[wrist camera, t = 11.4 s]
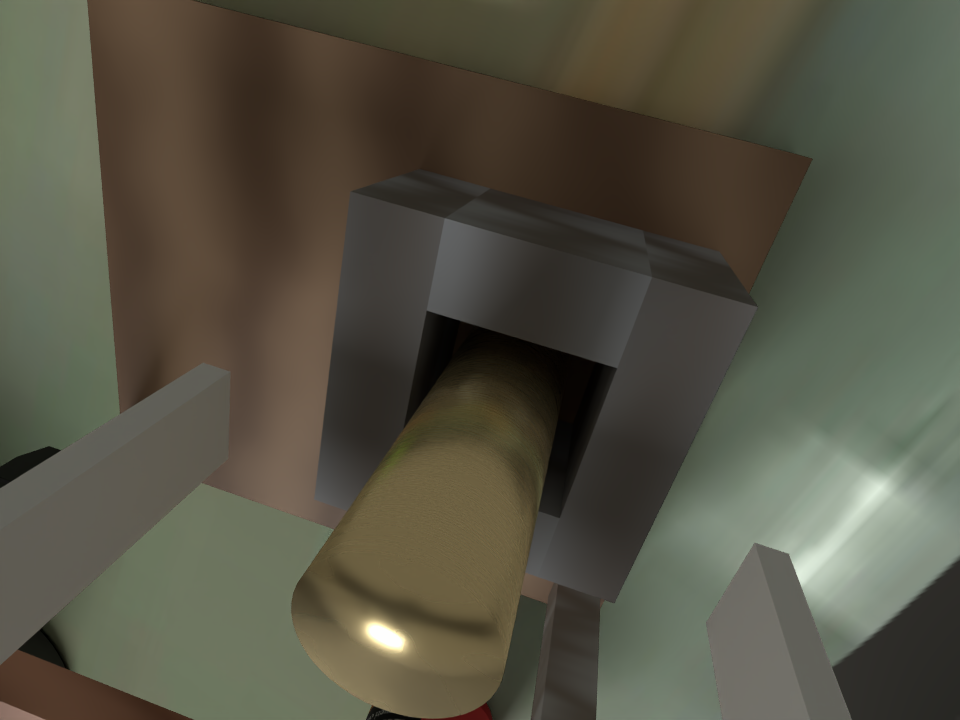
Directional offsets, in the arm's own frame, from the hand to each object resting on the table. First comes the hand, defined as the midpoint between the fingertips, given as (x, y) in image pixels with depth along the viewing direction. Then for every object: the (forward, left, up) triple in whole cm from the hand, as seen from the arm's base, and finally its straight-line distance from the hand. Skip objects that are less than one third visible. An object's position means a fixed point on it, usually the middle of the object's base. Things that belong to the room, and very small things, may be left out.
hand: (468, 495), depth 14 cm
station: (-6, -2, -12) cm, 13 cm away
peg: (0, 0, -10) cm, 10 cm away
